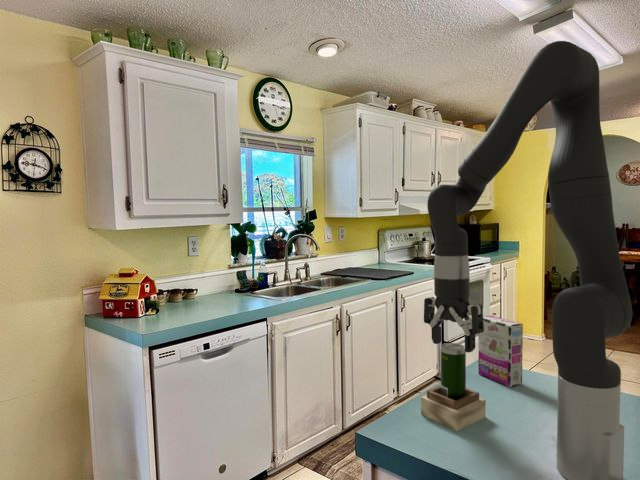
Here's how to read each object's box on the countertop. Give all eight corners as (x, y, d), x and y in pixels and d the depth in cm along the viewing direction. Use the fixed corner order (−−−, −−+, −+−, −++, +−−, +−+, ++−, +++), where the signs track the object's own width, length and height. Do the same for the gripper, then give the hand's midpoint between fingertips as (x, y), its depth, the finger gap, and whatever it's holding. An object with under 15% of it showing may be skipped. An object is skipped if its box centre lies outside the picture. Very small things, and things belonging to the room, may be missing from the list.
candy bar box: (523, 384, 115) (524, 323, 114) (509, 388, 113) (510, 326, 112) (490, 370, 125) (490, 314, 124) (477, 374, 123) (477, 316, 122)
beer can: (454, 405, 95) (454, 351, 94) (435, 397, 100) (435, 345, 99) (470, 399, 98) (470, 347, 97) (451, 391, 103) (451, 341, 102)
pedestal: (485, 417, 98) (485, 393, 98) (457, 431, 92) (457, 405, 92) (448, 401, 106) (448, 379, 106) (420, 414, 100) (420, 390, 100)
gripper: (490, 276, 94) (491, 351, 94) (436, 270, 105) (437, 337, 106) (469, 280, 89) (470, 358, 90) (415, 274, 101) (416, 343, 101)
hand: (452, 347), depth 98 cm, fingers open, 8 cm apart
